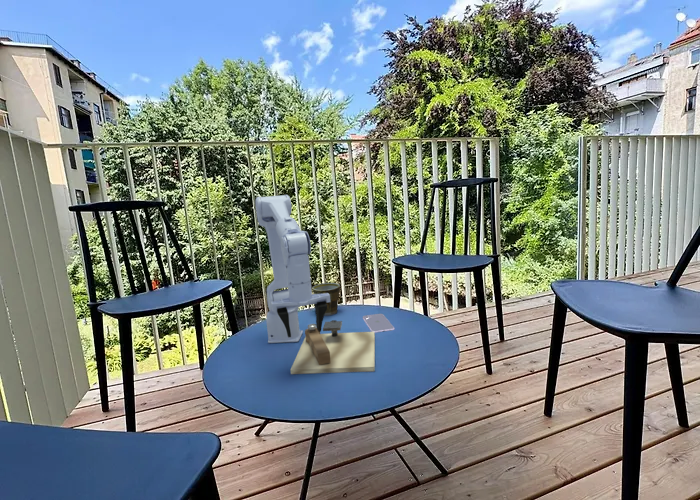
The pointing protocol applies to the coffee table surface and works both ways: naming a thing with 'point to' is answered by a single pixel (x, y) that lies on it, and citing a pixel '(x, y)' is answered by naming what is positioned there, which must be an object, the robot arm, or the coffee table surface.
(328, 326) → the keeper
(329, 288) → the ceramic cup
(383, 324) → the mobile phone
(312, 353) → the base plate
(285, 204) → the robot arm
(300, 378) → the coffee table surface
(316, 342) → the link
